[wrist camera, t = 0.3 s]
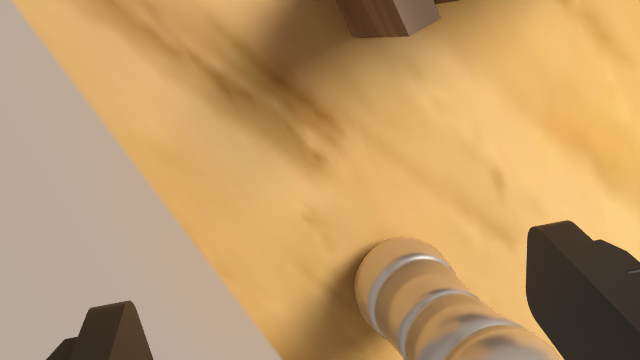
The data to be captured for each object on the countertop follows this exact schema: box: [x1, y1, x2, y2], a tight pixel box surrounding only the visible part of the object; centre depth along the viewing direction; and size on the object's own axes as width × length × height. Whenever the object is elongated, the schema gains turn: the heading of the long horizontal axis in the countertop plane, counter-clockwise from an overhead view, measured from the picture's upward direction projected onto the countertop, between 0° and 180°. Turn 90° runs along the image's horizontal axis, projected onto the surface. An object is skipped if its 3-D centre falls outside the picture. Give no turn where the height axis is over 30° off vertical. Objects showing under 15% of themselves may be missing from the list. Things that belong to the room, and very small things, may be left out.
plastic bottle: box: [354, 237, 561, 360], centre depth 30 cm, size 6×7×20 cm
